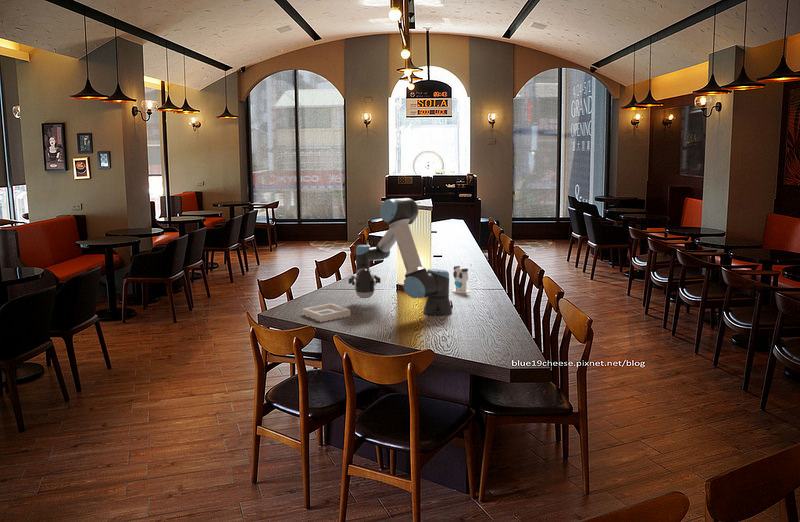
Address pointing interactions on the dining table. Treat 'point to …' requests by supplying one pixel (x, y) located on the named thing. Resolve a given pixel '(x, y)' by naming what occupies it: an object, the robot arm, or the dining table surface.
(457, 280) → the panda figurine
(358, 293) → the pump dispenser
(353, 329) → the dining table surface
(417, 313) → the dining table surface
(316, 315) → the tray
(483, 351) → the dining table surface
